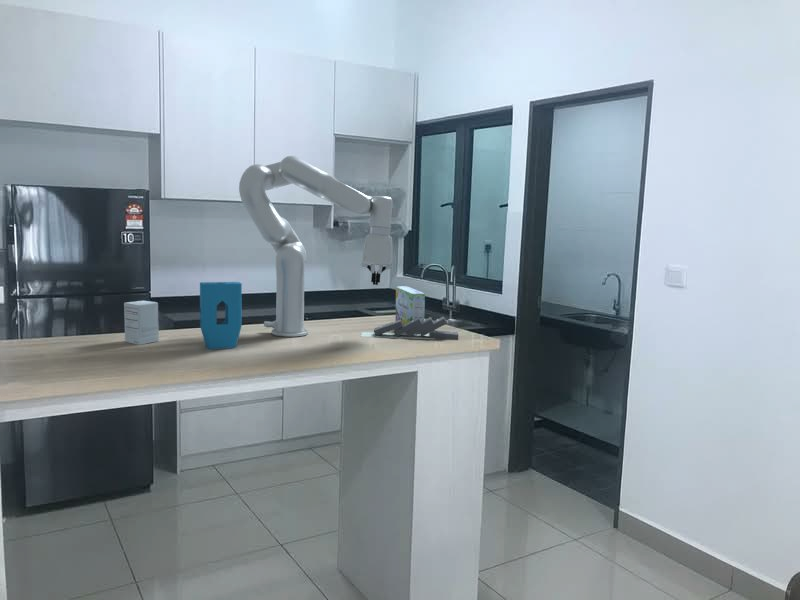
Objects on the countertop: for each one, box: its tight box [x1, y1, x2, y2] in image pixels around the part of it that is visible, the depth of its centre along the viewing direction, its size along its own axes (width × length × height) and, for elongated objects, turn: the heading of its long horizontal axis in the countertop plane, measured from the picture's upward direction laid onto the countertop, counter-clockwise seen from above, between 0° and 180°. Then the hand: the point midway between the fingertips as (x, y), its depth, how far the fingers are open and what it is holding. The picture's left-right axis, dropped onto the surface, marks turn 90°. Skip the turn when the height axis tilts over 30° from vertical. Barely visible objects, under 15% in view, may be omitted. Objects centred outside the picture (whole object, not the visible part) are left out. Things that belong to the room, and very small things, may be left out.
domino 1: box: [373, 319, 403, 336], centre depth 223 cm, size 2×5×10 cm
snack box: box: [395, 285, 426, 325], centre depth 240 cm, size 21×6×15 cm, turn 17°
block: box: [199, 281, 243, 350], centre depth 195 cm, size 12×5×20 cm, turn 116°
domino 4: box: [418, 316, 448, 336], centre depth 223 cm, size 2×5×10 cm
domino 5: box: [428, 329, 459, 340], centre depth 223 cm, size 2×5×10 cm
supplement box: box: [123, 300, 160, 346], centre depth 199 cm, size 7×7×13 cm
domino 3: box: [405, 316, 434, 337], centre depth 223 cm, size 2×5×10 cm
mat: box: [360, 331, 436, 340], centre depth 223 cm, size 26×8×1 cm, turn 90°
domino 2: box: [393, 317, 422, 337], centre depth 223 cm, size 2×5×10 cm
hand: (375, 284), depth 221 cm, fingers closed
